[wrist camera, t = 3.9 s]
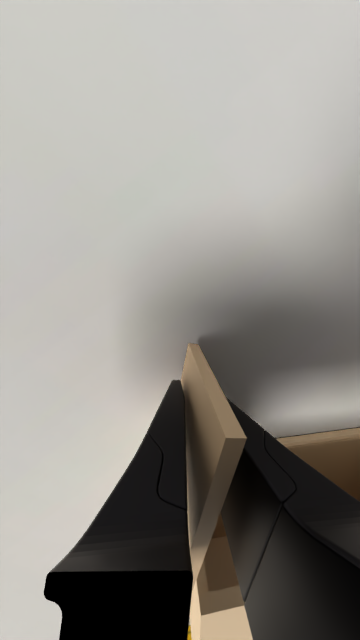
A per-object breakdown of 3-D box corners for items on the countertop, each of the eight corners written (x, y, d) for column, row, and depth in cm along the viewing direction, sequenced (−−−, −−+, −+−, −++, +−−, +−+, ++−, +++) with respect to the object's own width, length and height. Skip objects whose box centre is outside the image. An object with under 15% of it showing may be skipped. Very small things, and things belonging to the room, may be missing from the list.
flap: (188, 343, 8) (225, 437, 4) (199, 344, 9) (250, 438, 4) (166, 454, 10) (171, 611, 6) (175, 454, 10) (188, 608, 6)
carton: (392, 423, 13) (555, 530, 7) (356, 504, 15) (458, 625, 10) (181, 451, 11) (200, 615, 6) (182, 537, 14) (197, 703, 8)
